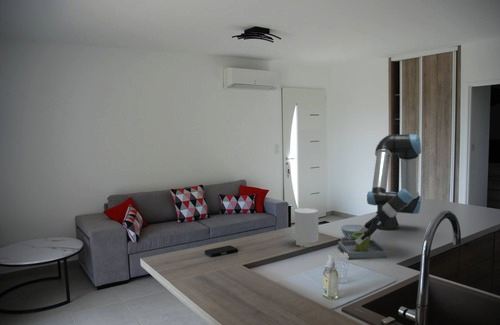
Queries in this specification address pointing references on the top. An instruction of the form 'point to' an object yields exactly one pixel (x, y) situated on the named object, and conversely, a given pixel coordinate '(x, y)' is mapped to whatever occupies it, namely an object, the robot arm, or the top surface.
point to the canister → (306, 225)
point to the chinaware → (350, 231)
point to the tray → (372, 252)
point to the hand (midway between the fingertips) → (357, 239)
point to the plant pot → (363, 245)
